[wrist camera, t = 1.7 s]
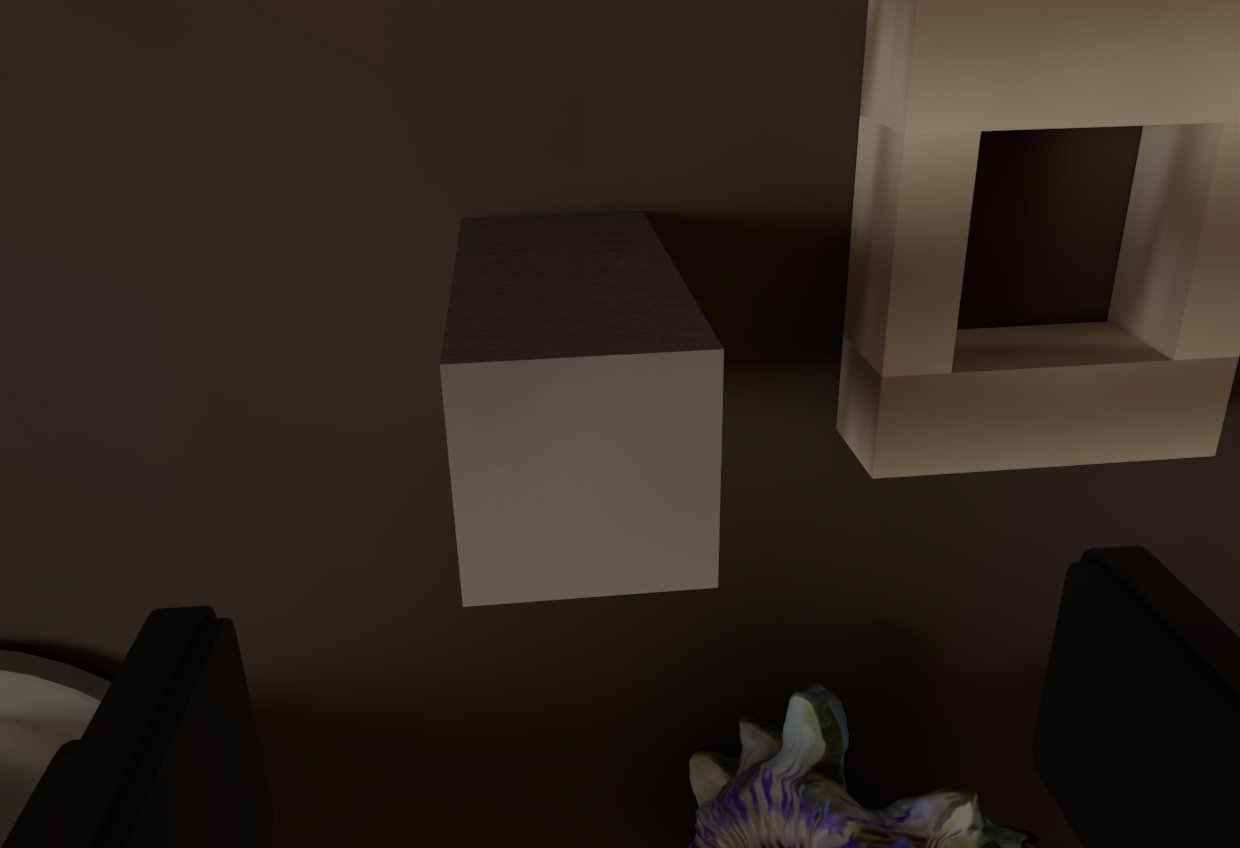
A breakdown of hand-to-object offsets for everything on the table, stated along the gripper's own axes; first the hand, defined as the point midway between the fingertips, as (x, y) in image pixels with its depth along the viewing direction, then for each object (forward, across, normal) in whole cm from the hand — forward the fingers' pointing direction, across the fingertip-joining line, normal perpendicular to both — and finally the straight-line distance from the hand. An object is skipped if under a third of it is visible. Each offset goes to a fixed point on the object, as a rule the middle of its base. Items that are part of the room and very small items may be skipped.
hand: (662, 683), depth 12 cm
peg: (+16, +1, +1) cm, 16 cm away
